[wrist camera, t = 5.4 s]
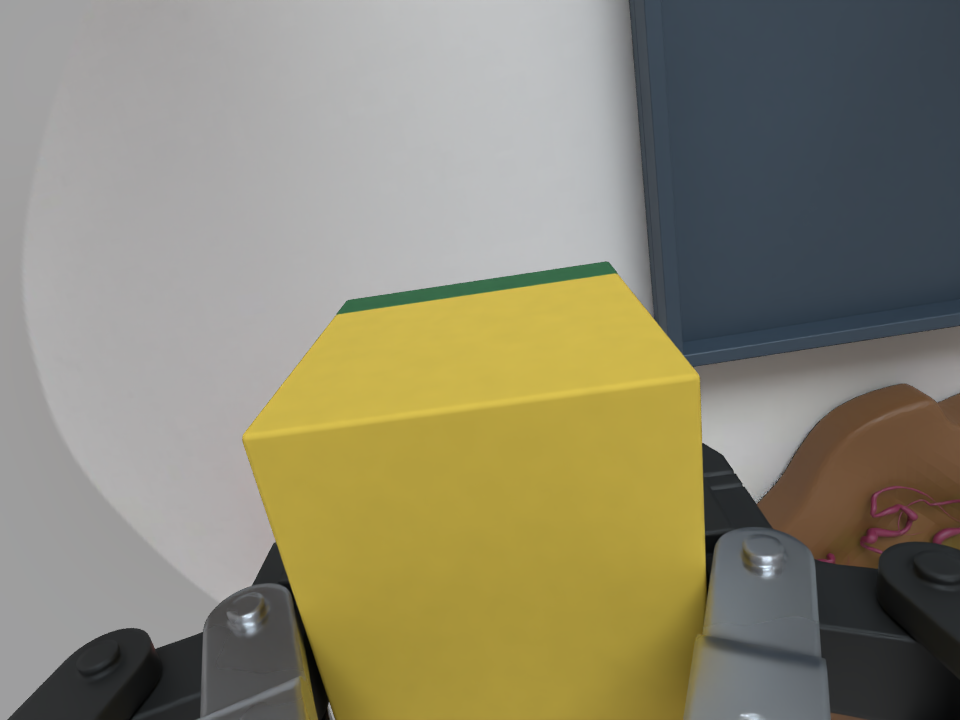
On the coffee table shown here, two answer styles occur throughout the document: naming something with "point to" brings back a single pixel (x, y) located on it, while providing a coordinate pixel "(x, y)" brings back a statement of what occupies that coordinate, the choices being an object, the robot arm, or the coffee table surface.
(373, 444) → the sponge
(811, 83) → the tray
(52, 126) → the coffee table surface
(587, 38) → the coffee table surface
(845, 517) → the plant
